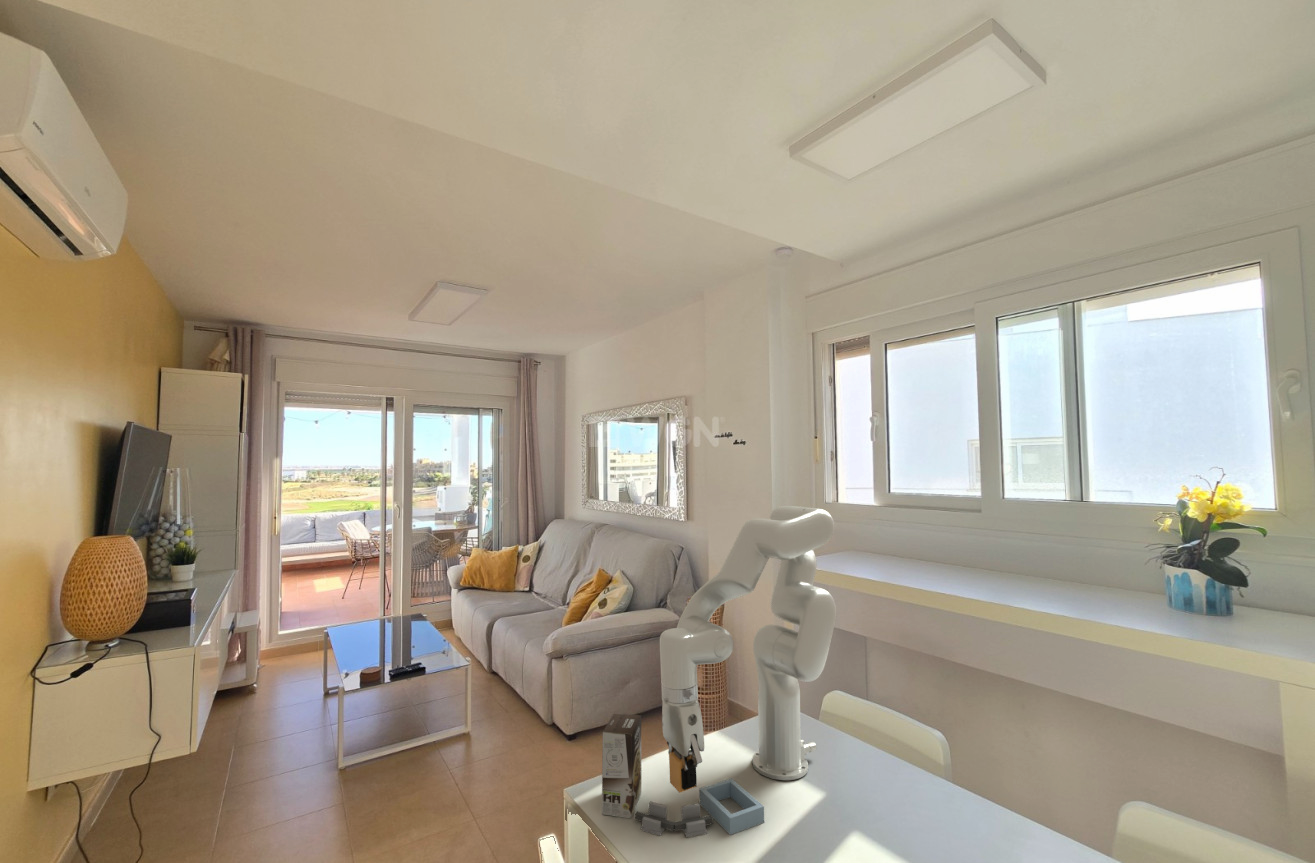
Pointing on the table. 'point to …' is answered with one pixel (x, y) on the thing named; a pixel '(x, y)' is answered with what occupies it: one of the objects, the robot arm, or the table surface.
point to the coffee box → (621, 765)
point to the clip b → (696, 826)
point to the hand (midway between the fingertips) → (683, 780)
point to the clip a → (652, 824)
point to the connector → (676, 770)
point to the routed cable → (673, 825)
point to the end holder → (728, 821)
